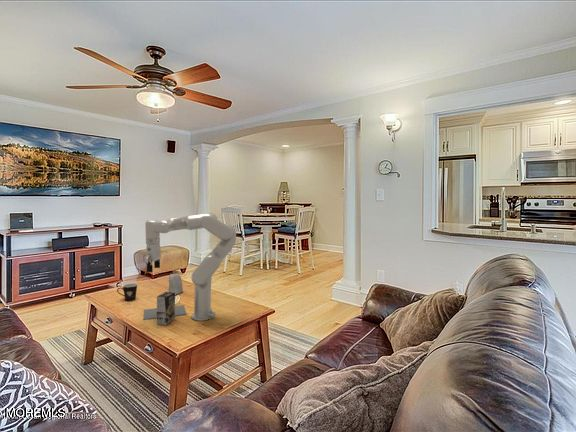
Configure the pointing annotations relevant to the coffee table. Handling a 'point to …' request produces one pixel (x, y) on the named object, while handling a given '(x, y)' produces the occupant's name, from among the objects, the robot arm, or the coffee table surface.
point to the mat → (153, 312)
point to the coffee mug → (129, 291)
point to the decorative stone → (175, 283)
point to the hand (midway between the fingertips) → (153, 269)
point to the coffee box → (165, 308)
